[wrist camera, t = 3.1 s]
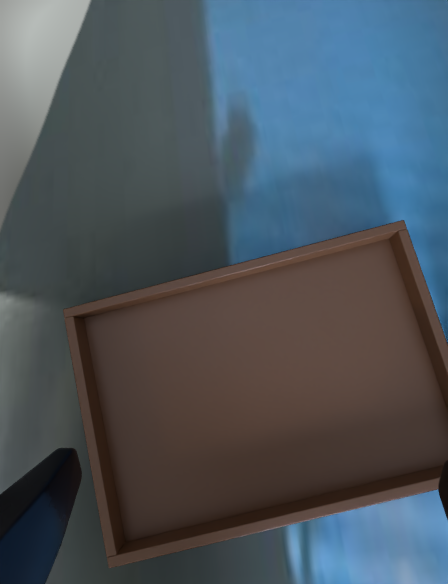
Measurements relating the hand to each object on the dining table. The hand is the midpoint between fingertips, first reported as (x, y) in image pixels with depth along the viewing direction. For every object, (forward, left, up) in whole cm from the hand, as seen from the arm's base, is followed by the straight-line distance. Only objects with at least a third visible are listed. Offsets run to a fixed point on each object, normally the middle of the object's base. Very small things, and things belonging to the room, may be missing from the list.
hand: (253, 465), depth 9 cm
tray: (+1, -1, -15) cm, 15 cm away
